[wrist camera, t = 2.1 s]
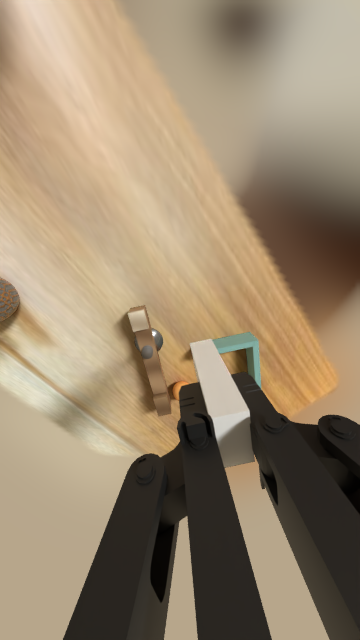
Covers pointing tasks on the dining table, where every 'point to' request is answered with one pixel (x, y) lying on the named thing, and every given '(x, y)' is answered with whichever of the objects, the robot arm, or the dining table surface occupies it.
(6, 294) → the vase
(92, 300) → the dining table surface
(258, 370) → the teal arch
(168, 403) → the lever
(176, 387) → the ball
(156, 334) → the pivot base
